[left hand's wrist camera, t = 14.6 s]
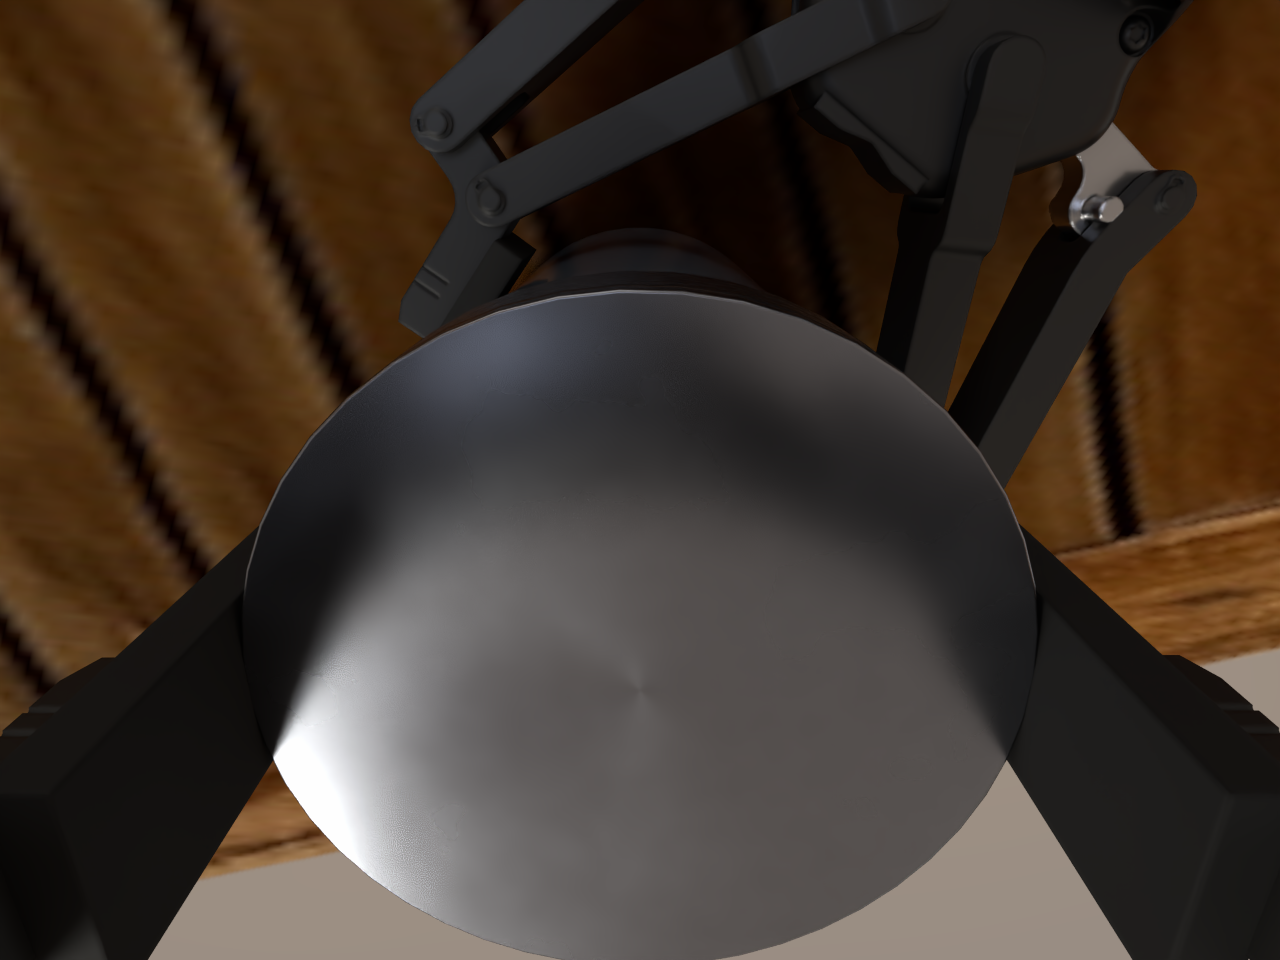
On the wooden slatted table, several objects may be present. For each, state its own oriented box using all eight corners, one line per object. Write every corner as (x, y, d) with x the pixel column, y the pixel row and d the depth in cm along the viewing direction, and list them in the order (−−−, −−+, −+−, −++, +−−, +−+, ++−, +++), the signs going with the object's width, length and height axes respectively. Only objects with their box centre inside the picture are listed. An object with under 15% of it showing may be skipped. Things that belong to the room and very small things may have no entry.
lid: (226, 287, 11) (142, 309, 9) (1024, 252, 10) (1104, 267, 9) (362, 878, 14) (323, 978, 13) (944, 859, 14) (988, 957, 12)
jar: (595, 163, 25) (516, 139, 9) (841, 338, 27) (1145, 582, 11) (444, 415, 28) (175, 745, 12) (675, 555, 30) (717, 1000, 14)
